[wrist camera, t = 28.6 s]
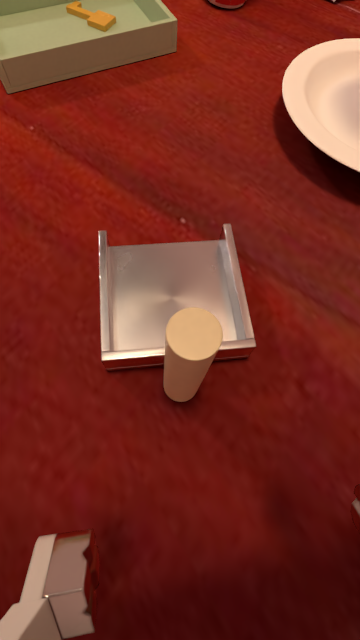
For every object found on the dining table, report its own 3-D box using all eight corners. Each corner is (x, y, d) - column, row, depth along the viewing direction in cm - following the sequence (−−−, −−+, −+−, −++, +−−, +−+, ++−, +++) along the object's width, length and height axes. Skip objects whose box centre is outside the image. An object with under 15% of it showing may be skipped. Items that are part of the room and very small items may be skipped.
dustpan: (254, 394, 23) (316, 349, 14) (108, 409, 22) (70, 372, 13) (224, 243, 28) (256, 136, 19) (103, 250, 27) (74, 141, 18)
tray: (7, 94, 34) (-6, 61, 31) (-27, 24, 38) (-41, -11, 35) (176, 51, 38) (177, 19, 35) (128, -7, 42) (126, -40, 40)
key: (116, 22, 39) (116, 15, 38) (105, 32, 38) (104, 25, 37) (75, 6, 40) (74, -1, 39) (62, 15, 39) (61, 9, 38)
